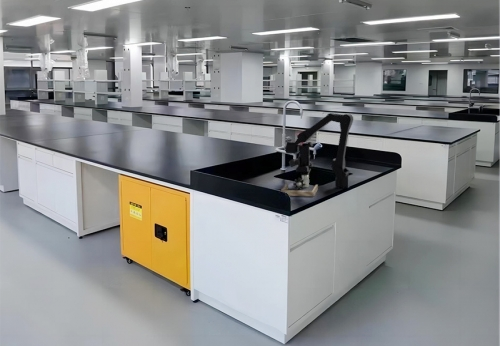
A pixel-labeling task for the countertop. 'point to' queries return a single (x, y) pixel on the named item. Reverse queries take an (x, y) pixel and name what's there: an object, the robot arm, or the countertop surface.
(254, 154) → the countertop surface
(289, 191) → the holding jig
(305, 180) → the valve
